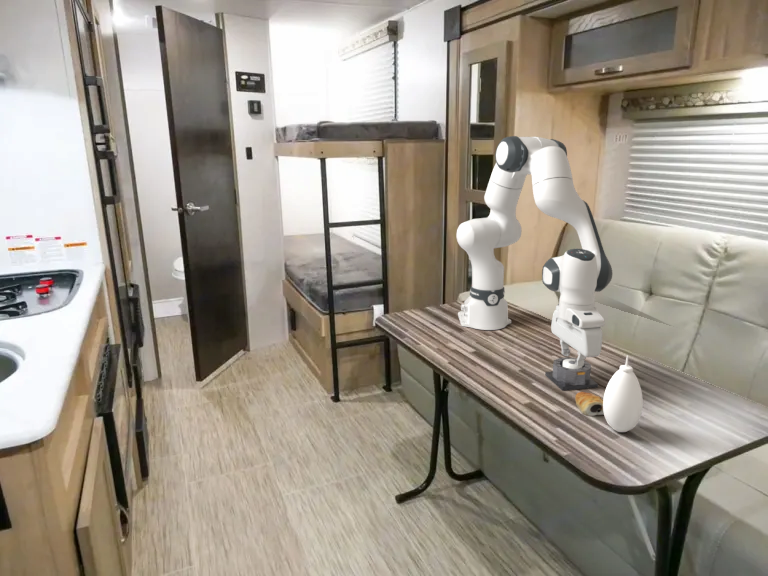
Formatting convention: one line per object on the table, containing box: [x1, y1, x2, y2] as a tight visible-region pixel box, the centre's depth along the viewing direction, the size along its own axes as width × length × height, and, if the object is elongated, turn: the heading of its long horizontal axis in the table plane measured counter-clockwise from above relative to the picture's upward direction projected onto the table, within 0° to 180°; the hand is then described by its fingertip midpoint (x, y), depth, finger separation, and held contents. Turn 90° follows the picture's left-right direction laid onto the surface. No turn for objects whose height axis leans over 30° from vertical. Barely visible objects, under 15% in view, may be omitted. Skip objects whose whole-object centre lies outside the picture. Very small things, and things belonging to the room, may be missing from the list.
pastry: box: [574, 391, 604, 417], centre depth 127 cm, size 9×7×4 cm
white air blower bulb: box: [602, 355, 644, 433], centre depth 114 cm, size 8×8×18 cm
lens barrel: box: [545, 356, 599, 391], centre depth 141 cm, size 10×10×5 cm
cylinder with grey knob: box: [562, 359, 582, 369], centre depth 141 cm, size 5×5×5 cm
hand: (572, 360), depth 140 cm, fingers open, 6 cm apart
